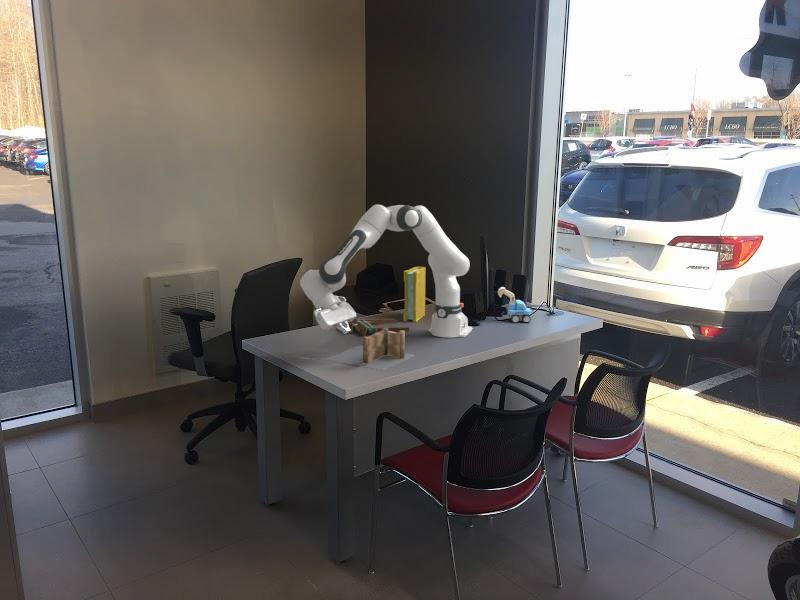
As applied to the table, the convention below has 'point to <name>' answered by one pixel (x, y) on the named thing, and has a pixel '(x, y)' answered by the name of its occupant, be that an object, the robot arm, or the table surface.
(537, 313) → the table surface
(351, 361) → the board
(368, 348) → the fence leaf
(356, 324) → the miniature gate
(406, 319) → the book
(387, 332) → the fixed fence
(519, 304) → the toy excavator
